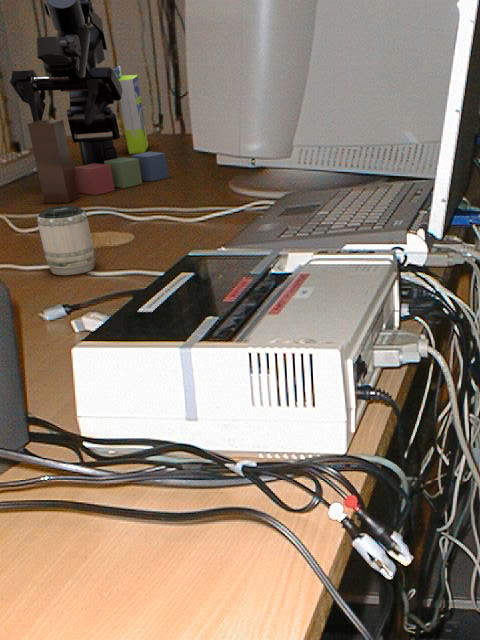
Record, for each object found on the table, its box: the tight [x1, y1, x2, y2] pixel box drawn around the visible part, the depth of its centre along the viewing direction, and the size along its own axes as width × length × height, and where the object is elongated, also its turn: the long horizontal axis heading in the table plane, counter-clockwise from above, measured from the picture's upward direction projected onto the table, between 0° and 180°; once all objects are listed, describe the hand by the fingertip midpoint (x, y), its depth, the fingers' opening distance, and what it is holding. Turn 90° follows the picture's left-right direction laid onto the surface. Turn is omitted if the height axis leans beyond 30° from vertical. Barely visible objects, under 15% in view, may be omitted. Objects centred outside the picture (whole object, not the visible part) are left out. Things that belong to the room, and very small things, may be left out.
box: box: [113, 65, 149, 155], centre depth 203 cm, size 10×4×17 cm, turn 8°
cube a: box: [131, 151, 170, 182], centre depth 175 cm, size 4×4×4 cm
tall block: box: [27, 119, 79, 204], centre depth 158 cm, size 5×4×13 cm
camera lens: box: [36, 205, 96, 276], centre depth 119 cm, size 6×6×8 cm
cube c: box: [74, 163, 115, 196], centre depth 166 cm, size 4×4×4 cm
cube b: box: [104, 156, 143, 189], centre depth 171 cm, size 4×4×4 cm
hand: (61, 125), depth 161 cm, fingers open, 9 cm apart
